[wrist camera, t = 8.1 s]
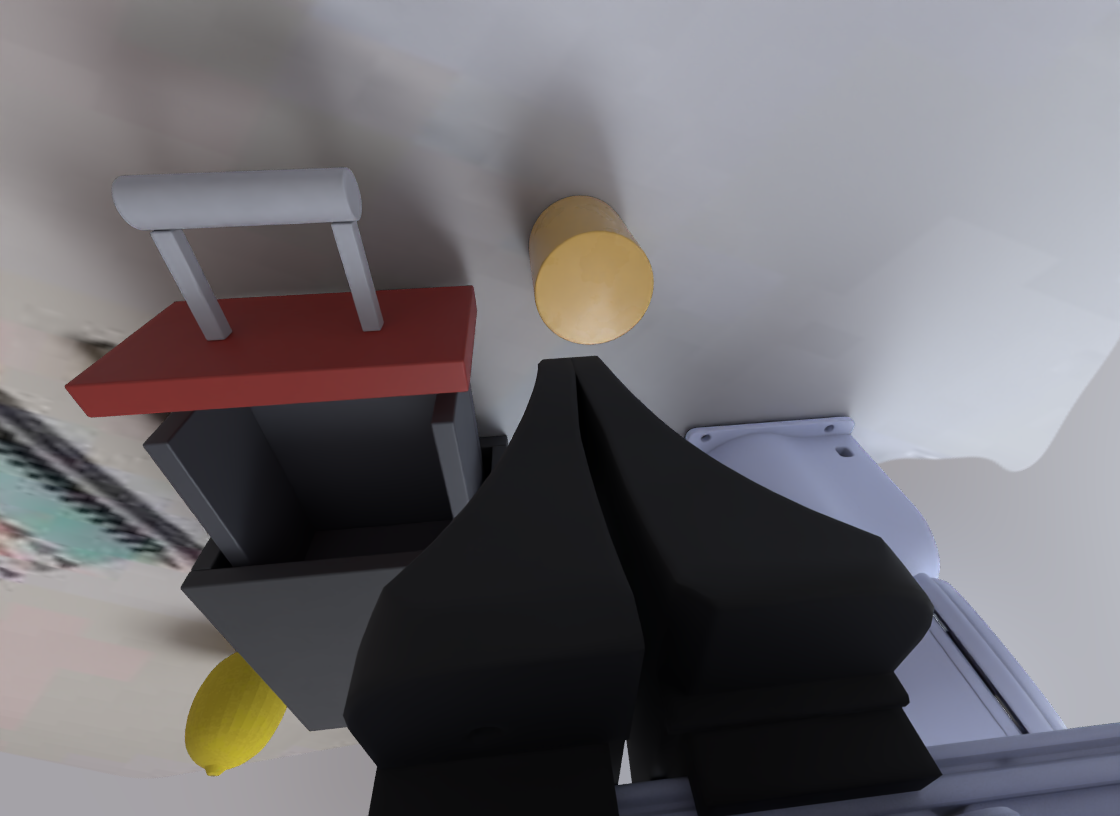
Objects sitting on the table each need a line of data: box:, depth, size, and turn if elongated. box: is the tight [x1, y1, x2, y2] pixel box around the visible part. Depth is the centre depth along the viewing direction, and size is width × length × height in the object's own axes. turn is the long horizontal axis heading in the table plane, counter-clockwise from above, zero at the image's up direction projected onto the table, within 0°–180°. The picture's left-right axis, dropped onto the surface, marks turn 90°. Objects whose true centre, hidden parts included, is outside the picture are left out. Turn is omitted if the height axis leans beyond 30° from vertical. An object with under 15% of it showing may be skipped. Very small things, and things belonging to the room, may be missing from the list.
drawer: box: [65, 167, 486, 567], centre depth 19 cm, size 18×11×6 cm, turn 0°
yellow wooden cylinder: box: [529, 196, 654, 345], centre depth 17 cm, size 4×4×4 cm
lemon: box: [185, 652, 287, 776], centre depth 31 cm, size 6×6×8 cm
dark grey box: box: [181, 436, 508, 731], centre depth 26 cm, size 15×13×8 cm
